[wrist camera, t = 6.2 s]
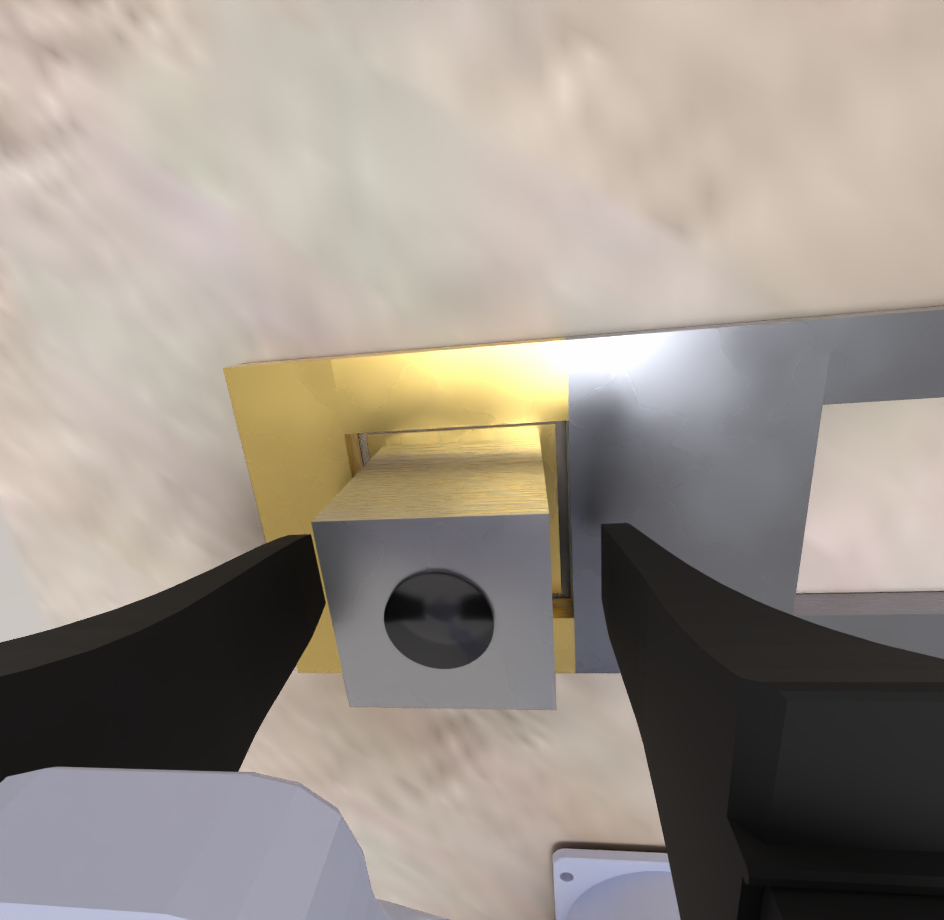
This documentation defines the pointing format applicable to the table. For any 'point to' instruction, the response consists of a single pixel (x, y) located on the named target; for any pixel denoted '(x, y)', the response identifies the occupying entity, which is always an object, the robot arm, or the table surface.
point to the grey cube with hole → (443, 577)
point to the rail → (615, 449)
